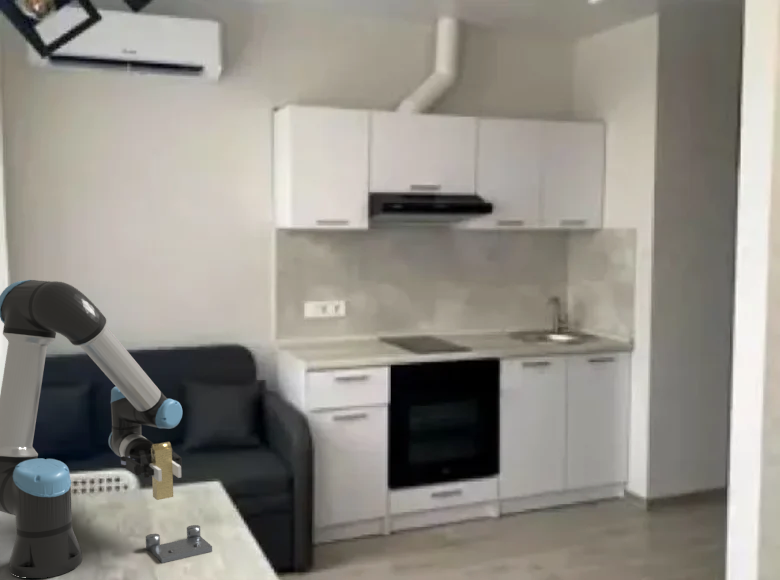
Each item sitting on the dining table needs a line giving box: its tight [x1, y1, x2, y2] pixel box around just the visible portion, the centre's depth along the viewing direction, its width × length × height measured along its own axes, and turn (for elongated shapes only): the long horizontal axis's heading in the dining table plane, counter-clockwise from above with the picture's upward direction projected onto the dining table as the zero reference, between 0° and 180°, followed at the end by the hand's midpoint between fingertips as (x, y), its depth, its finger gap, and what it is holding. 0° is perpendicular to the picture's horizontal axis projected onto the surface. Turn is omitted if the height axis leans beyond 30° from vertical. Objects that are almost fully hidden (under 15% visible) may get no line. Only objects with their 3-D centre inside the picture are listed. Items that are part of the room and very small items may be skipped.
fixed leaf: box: [145, 524, 213, 564], centre depth 200 cm, size 13×11×3 cm
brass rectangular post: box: [151, 441, 174, 501], centre depth 204 cm, size 4×3×13 cm
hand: (169, 473), depth 200 cm, fingers closed on brass rectangular post, 4 cm apart
